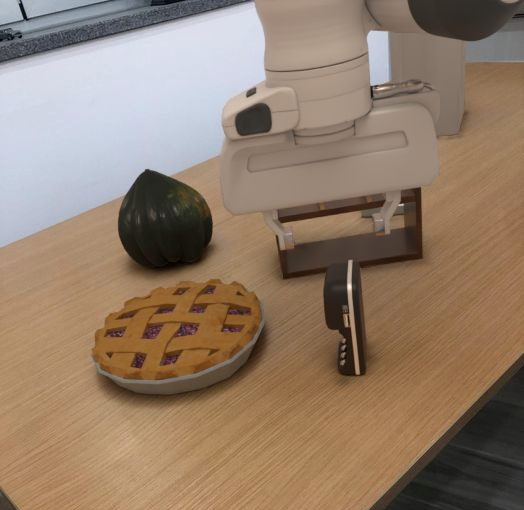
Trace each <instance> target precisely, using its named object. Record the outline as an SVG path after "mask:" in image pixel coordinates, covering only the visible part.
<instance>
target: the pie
mask: <svg viewBox="0 0 524 510" xmlns="http://www.w3.org/2000/svg"><path fill="white" fill-rule="evenodd" d="M265 324H266V314H265V307H264V303H263V302H262V300H261V299H259V297H258V296H257V294H256V293H255V291H254V290H252V291H250V289H247V288H246V287H245V285H244V284H242V283H240V282H238V281H236V280H233V281H231V282H230V283H229V284H227V283H224V282H223V281H222V280H221V279H220V278H210V279H209V280H207V281H206V282H195V281H193V280H181V281H179V282H178V283H177V284H175V286H171V287H167V288H165V287H163V286H159V287H156V288H154V289H152V290H151V291H149V293H148V294H146V295H144V296H134V297H132V298H130V299H128V300H126V301H124V304H123V308H121V309H120V310H119V311H114V312H109V314H108V315H107V316H106V317H105V318H104V326H103V327H102V328H98V329H96V331H95V332H94V344H93V348H91V354H90V357H91V359H92V362H93V363H94V366H95V367H96V370H97V372H98V373H99V374H101V375H104V376H105V377H108V378H109V379H110V380H112V382H114V383H115V384H116V385H117V386H118V387H121V388H123V389H126V390H129V391H131V392H134V393H136V394H142V395H143V394H144V395H161V396H162V395H163V396H171V395H176V394H182V393H187V392H192V391H196V390H197V391H198V390H203V389H205V388H208V387H210V386H213V385H214V384H217V383H220V382H222V381H224V380H227V379H229V378H231V376H233V375H234V374H235V373H236V372H237V371H238V370H239V369H240V368H241V367H243V365H245V364H246V363H247V361H248V360H249V357H250V355H251V353H252V351H253V349H254V347H255V345H256V342H257V340H258V338H259V336H260V334H261V332H262V330H263V328H264V326H265Z"/></svg>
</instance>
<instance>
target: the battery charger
mask: <svg viewBox="0 0 524 510" xmlns="http://www.w3.org/2000/svg"><path fill="white" fill-rule="evenodd" d="M361 274H362V273H361V267H360V264H359V262H358V261H353V260H349V261H345V262H335V263H332V264H330V265H329V266H328V267H327V269H326V273H324V282H323V290H322V291H323V293H322V294H323V295H322V297H323V298H322V299H323V310H324V311H323V313H324V322H325V325H326V327H327V329H328V330H331V331H338V334H339V335H341V336H342V337H343V338H342V339H340V341H339V342H338V348H337V349H338V350H337V364H336V365H337V370H338V372H340V373H341V374H345V375H357V376H359V375H362V374H363V375H364V374H365V373H366V372H367V332H366V322H365V321H366V320H365V309H364V308H365V307H364V297H363V296H364V295H363V285H362V275H361Z"/></svg>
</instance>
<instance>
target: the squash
mask: <svg viewBox="0 0 524 510" xmlns="http://www.w3.org/2000/svg"><path fill="white" fill-rule="evenodd" d="M212 215H213V214H212V210H211V208H210V205H208V203H207V200H206V199H205V198H204V196H203V195H202V194H201V193H200V192H199V191H197V190H196V189H195V188H193V187H192V186H191V185H188V184H186V183H185V182H182V181H180V180H178V179H177V178H174V177H171V176H169V175H166V174H164V173H162V172H159V171H156V170H153V169H152V170H151V169H150V168H145V169H144V171H142V172H141V173H140V174H138V176H137V177H136V178H135V180H134V182H132V185H131V186H130V188H129V189H128V191H127V192H126V194H125V195H124V197H123V199H122V201H121V204H120V208H119V210H118V218H117V233H118V237H119V240H120V243H121V245H122V247H123V249H124V251H125V252H126V254H127V255H128V256H129V258H130V259H132V260H133V261H134V262H135V263H136V264H138V265H139V266H141V267H144V268H156V267H164V266H165V265H167V264H169V262H171V263H174V262H178V261H179V260H180V261H182V262H185V263H192V262H195V261H197V260H199V258H201V256H202V254H203V251H204V250H206V249H207V247H208V246H209V245H210V243H211V241H212V238H213V233H214V221H213V216H212Z"/></svg>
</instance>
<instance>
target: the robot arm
mask: <svg viewBox="0 0 524 510" xmlns="http://www.w3.org/2000/svg"><path fill="white" fill-rule="evenodd" d="M253 2H254V7H255V13H256V15H257V17H258V19H259V22H260V24H261V27H262V32H263V37H264V54H263V68H264V77H265V79H264V80H262V81H260V82H258V83H257V84H255V85H253V86H251V87H250V88H248V89H246V90H243V91H241V92H240V93H238V94H236V95H234V96H233V97H231V98H229V99H228V100H226V102H225V104H224V105H223V108H222V111H221V114H220V121H221V122H220V123H221V127H222V131H223V134H224V136H223V137H224V138H223V140H222V145H221V148H220V155H219V183H220V193H221V198H222V204H223V207H224V209H225V210H226V211H227V212H228V213H230V214H231V215H232V216H233V217H239V216H244V215H251V214H257V213H262V215H263V221H264V223H265V224H266V225H267V227H268V228H269V229H270V230H271V231H272V232H273V233H274V235H275V234H276V235H278V238H279V244H280V250H285V249H292V248H295V238H294V230H293V226H291V225H290V226H284V225H283V223H282V224H281V223H280V221H279V220H278V209H283V208H290V207H296V206H303V205H309V204H315V203H322V202H328V201H335V200H341V199H348V198H354V197H360V196H367V195H373V194H380V193H383V196H384V198H385V200H386V201H385V203H384V205H383V207H382V209H381V211H380V213H375V214H372V217H371V219H372V232H374V233H375V236H380V235H387V234H390V229H391V219H392V217H393V216H394V215H393V214H394V212H395V210H396V208H397V207H398V205H399V203H400V201H401V190H405V189H412V188H418V187H421V188H423V187H430V186H431V185H433V184H434V182H435V181H436V179H437V178H438V177H439V176H440V172H441V171H440V169H441V168H440V154H439V153H440V152H439V145H438V137H437V136H436V132H435V127H434V126H435V125H436V124H437V122H438V120H439V117H440V94H439V91H438V90H437V88H436V87H435V86H434V85H432V84H430V83H427V82H423V80H422V79H419V78H417V79H409V80H407V81H405V82H402V83H401V82H399V83H392V82H387V83H380V84H374V85H371V70H370V52H369V43H368V35H369V33H370V32H371V31H373V32H389V31H390V32H394V33H415V34H431V35H435V36H440V37H446V38H452V39H457V40H463V41H466V42H477V41H481V40H484V39H487V38H489V37H491V36H492V35H494V34H497V32H499V30H502V28H504V27H505V26H506V24H508V22H510V21H511V20H512V19H513V17H514V16H515V15H516V14H517V13H518V12H519V10H521V8H522V7H523V5H524V0H253ZM423 87H426V88H429V89H428V90H423ZM276 235H275V236H276Z"/></svg>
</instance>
